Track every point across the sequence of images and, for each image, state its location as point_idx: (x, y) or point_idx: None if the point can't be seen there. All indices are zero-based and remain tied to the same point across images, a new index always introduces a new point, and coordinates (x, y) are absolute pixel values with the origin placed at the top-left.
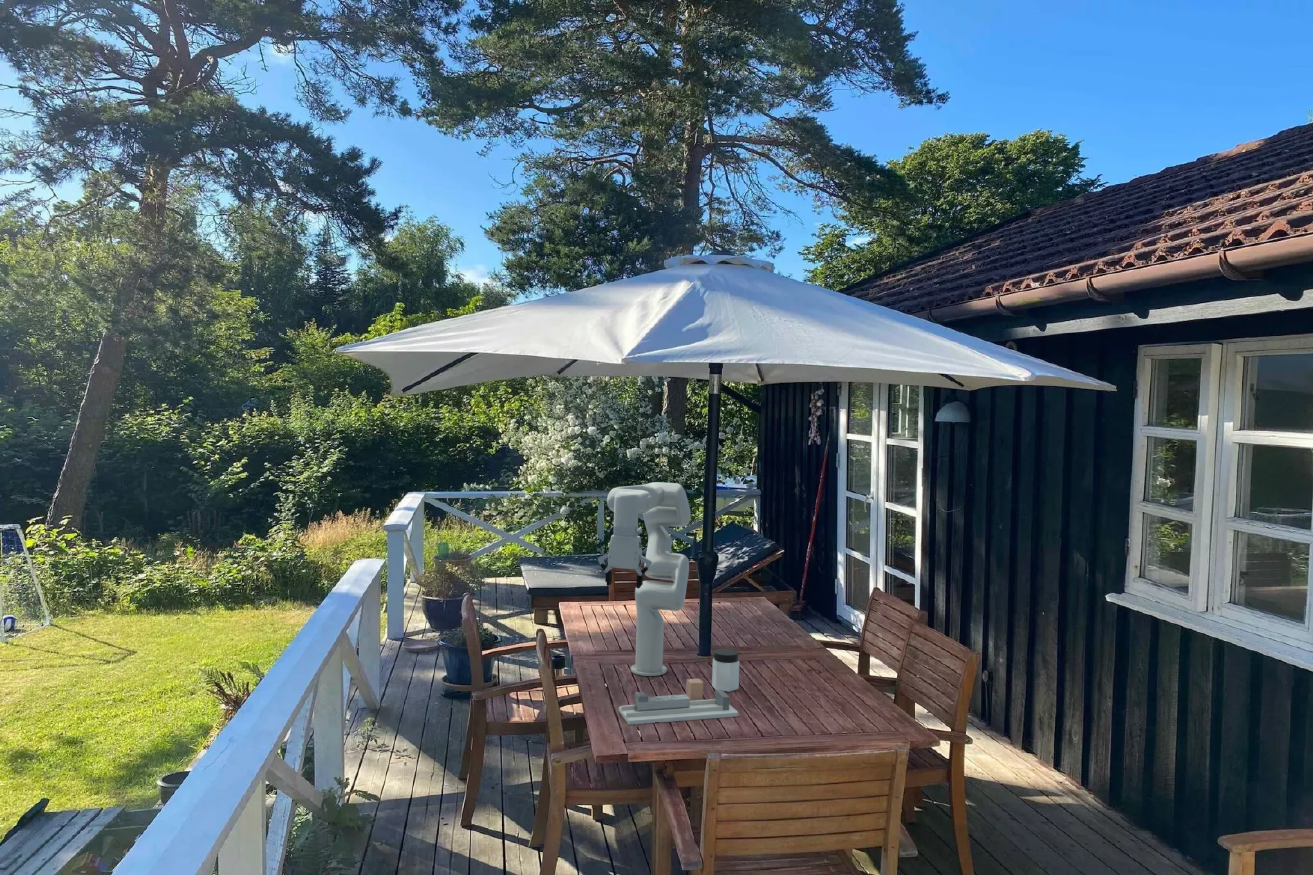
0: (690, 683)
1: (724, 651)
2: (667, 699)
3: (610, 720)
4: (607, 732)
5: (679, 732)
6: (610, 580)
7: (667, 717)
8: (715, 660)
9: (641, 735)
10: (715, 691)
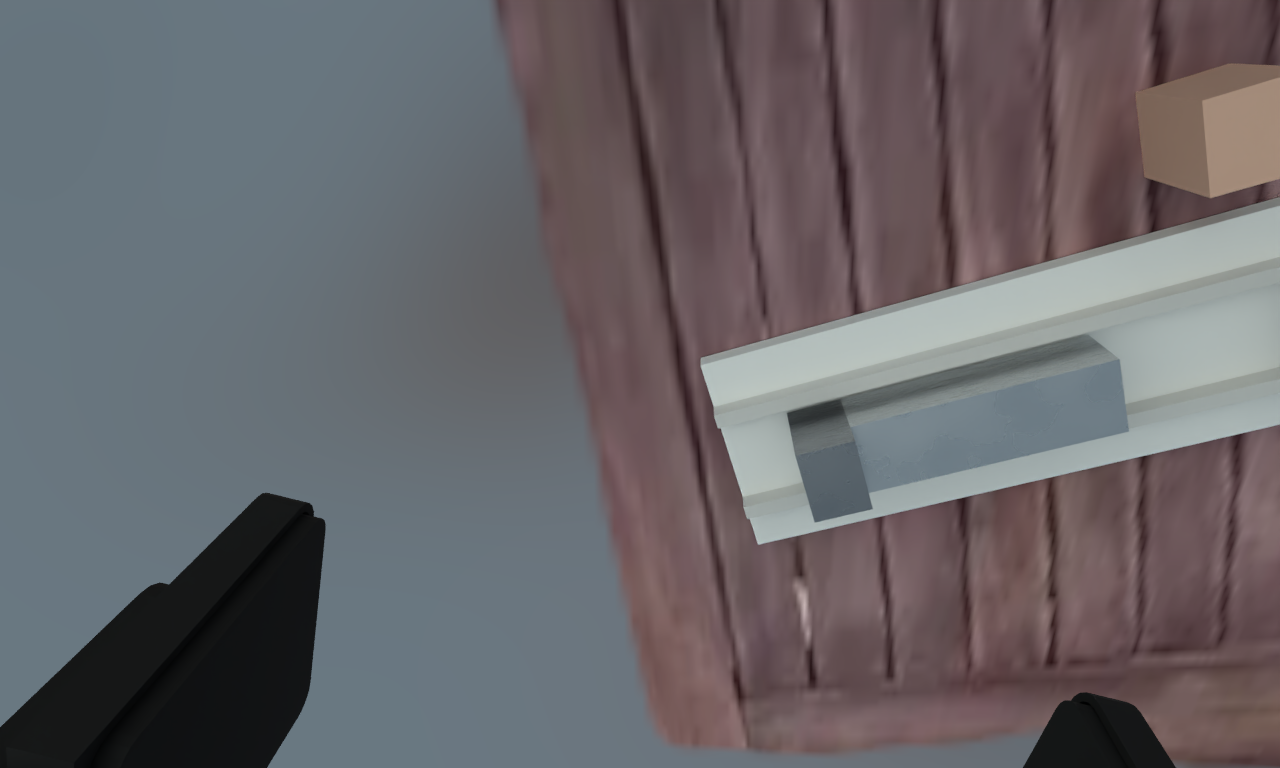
0: (1208, 190)
1: None
2: (985, 454)
3: (666, 486)
4: (662, 613)
5: (990, 601)
6: (264, 684)
7: (956, 494)
8: None
9: (812, 636)
10: None
